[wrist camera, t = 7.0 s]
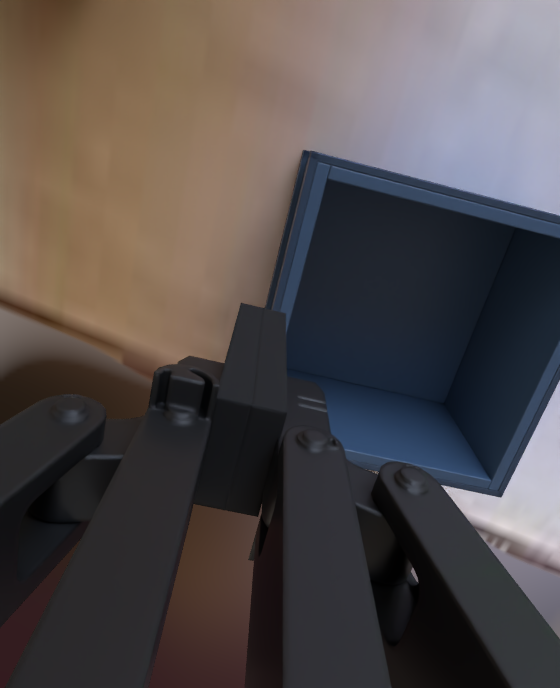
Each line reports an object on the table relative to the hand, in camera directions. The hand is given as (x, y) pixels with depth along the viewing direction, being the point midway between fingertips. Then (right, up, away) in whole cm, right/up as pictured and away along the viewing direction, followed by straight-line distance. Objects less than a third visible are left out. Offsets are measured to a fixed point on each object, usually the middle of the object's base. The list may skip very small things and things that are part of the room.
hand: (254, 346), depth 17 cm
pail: (+1, +3, +7) cm, 8 cm away
